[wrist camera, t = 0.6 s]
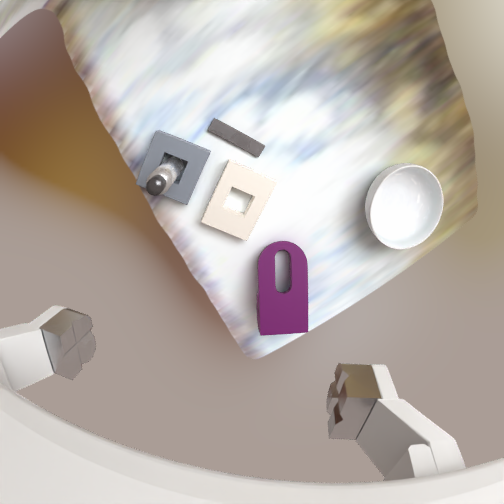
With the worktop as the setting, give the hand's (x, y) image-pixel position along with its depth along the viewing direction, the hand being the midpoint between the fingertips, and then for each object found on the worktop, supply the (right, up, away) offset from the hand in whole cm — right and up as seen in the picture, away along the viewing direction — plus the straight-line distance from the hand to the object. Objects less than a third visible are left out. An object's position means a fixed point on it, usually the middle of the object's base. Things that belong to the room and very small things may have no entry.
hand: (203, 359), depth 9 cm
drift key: (-1, +23, +42) cm, 48 cm away
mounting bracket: (+7, -2, +55) cm, 56 cm away
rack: (-1, +13, +46) cm, 48 cm away
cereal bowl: (+30, +14, +48) cm, 59 cm away
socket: (-12, +19, +43) cm, 48 cm away
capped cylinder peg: (-12, +19, +43) cm, 48 cm away
